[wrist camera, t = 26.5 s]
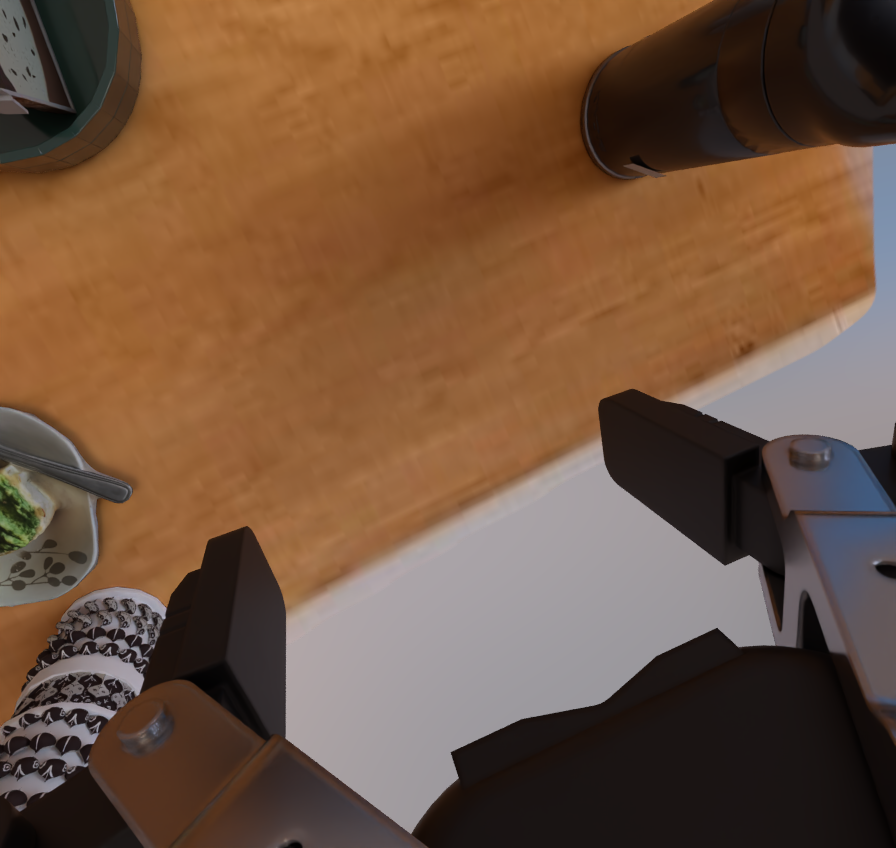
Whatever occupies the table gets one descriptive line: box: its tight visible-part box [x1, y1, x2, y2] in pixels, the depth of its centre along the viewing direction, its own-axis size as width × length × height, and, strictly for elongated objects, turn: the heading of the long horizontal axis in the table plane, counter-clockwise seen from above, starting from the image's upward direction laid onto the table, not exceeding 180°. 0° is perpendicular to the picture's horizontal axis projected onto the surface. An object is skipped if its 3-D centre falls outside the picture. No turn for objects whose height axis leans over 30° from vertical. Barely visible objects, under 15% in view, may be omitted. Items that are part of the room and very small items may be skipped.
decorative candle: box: [0, 587, 167, 812], centre depth 33 cm, size 9×9×25 cm
